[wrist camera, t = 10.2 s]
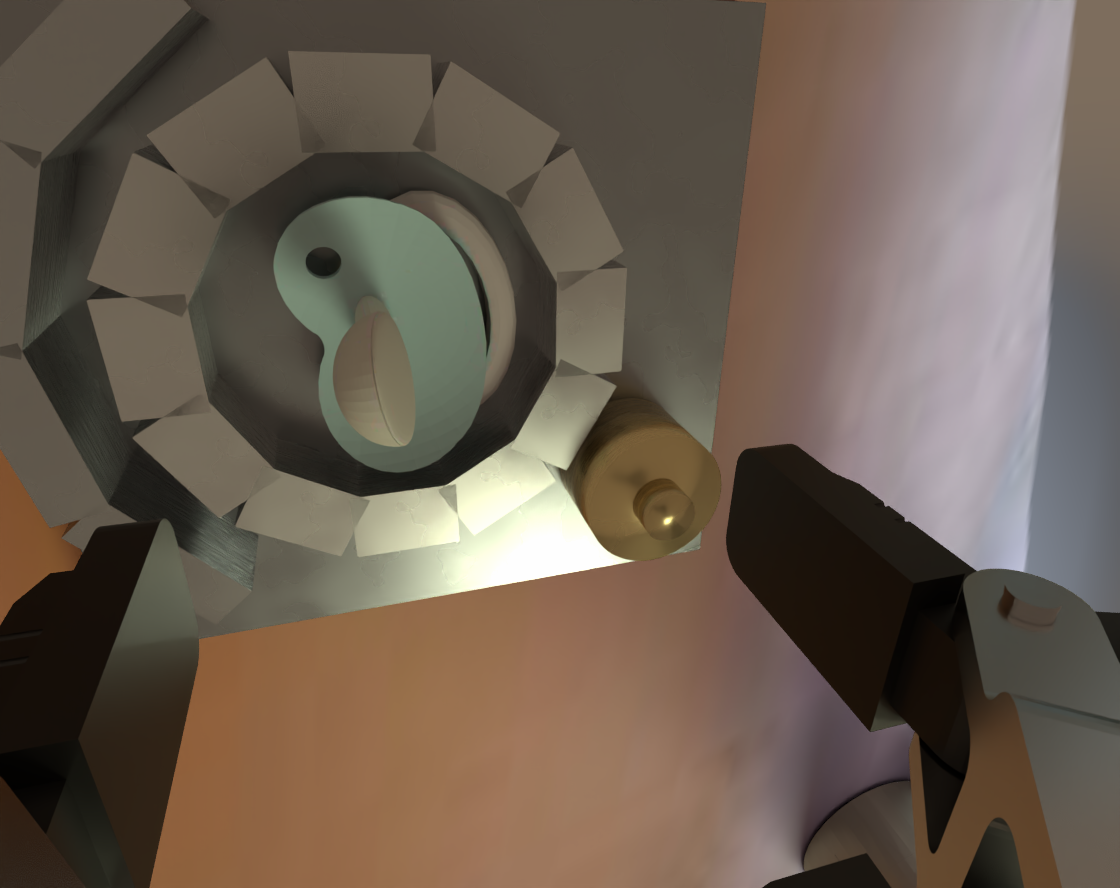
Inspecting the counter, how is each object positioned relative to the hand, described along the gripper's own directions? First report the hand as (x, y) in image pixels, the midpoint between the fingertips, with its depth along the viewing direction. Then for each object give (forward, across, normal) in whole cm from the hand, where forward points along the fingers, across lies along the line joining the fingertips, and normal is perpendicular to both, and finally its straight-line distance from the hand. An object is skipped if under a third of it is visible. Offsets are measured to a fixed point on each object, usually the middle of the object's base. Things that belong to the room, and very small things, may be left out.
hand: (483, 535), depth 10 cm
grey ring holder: (+13, 0, +1) cm, 13 cm away
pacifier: (+12, 0, 0) cm, 12 cm away
